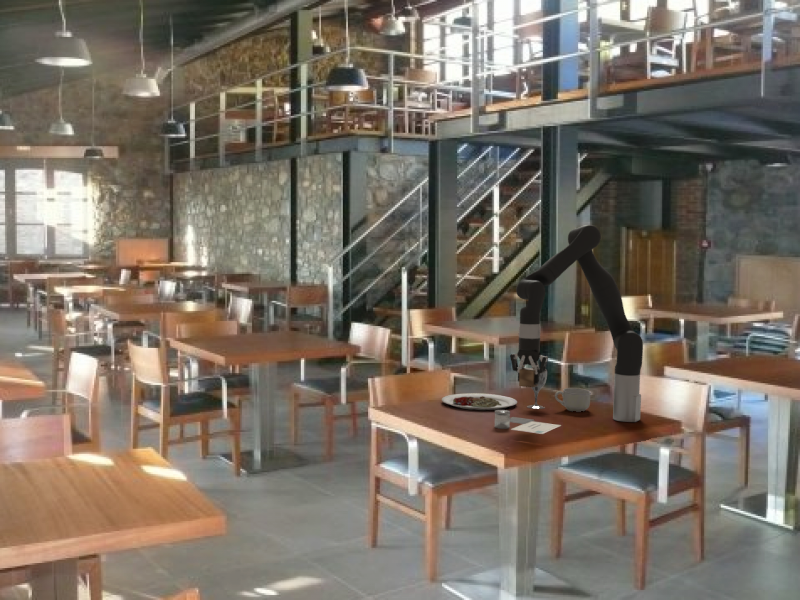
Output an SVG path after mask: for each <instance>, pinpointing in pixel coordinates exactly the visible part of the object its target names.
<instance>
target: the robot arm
mask: <svg viewBox="0 0 800 600" xmlns="http://www.w3.org/2000/svg"><path fill="white" fill-rule="evenodd" d="M601 236H602V235H601V231H600V230H599V228H598V227H597V226H595V225H592V224H584V225H582V226H579V227H576V228H573V229H571V230H570V231H569V233H568V236H567V243H568V245H567V246H566V247H564V248H563V249H562V250H560V251H559V252H557V253H556V254H554V255H553V256H551V257H550V258H549V259H548V260H546V261H545V262H544V263H543V264H542V265H541V266H540V267H539V268H538V269H537V270H535V271H533V272H532V273H530V274H528V275H527V276H525V277H524V278H522V279H521V280H520V281H519V282H518V283H517V286H516V289H515V290H516V295H517V297H518V298H519V299H522V300H525V301H526V300H527V303H526V304H527V305H526V306H523V307H521V308H520V311H519V327H518V351H517V352H516V353H511V354H510V356H509V358H510V363H511V368H512V370H513V371H515V372H516V373H517V382H518V383H519V372H520V369H522V368H526V366H527V365H529V366H531V368H533V370H534V373H535V374H534V385H537V384H538V383H539V375H540V373H543V372H545V369H546V368H547V366H548V365H547V364H548V360H549V357H548V355H546V356H545V355H542V354H541V323H540V322H541V310H542V308H543V305H544V304H543V303H544V301H545V295H546V288H545V287H548V286H550V285H551V284H553V283H554V282H555V281H556V280H557V279H558V278H560V276H561V275H562V274H563V273H565V271H566V270H568V269H569V267H570V266H572V265H574V263H576V261H577V263H578V264H579V266H580V268H581V270H582V273H583V275H584V277H585V280H586V282H587V283H588V285H589V288H590V291H591V294H592V295H593V298H594V300H595V302H596V304H597V306H598V308H599V310H600V313H601V314H602V316H603V318H604V320H605V321H606V324H607V326H608V329H609V332H610V335H611V339H612V342H613V345H614V348H615V350H617V352H616V354H617V355H616V364H615V366H614V378H613V379H614V381H613V405H612V406H613V407H612V408H613V409H612V410H613V411H612V412H613V413H612V419H613V420H614V421H618V422H624V423H625V422H628V423H637V422H638V421H640V420H641V413H642V412H641V408H642V395H641V393H640V388H641V387H640V385H641V370H642V366H643V358H644V357H643V356H644V355H643V354H644V352H643V351H644V343H643V339H642V337H641V335H640V334H638V333H637V332H635V331H634V330H633V328H632V326H631V325H630V322H629V320H628V317H627V316H626V314H625V309H624V303H623V299H622V294H621V292H620V289H619V287H618V284H617V283H616V280H615V279H614V277H613V275H612V274H611V273H609V271H608V270H606V268H605V267H603V265H602V264H601V263H600V262H599V261H598V259H597V257H596V256H595V253H594V251H593V249H595V248H597V247H598V246H599V244H600V242H601V239H602V237H601ZM518 359H519V360H520V362H519V364H518ZM539 360H540V362H541V363H540V366H539V363H538V361H539ZM539 368H540V370H539ZM546 370H547V369H546Z"/></svg>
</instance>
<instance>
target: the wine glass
mask: <svg viewBox="0 0 800 600" xmlns="http://www.w3.org/2000/svg"><path fill="white" fill-rule="evenodd" d="M539 370H540V367H539ZM547 377H548V370H547V369H545V372H543V373H540V375H539V383H538V386H535V387H533V388H532V387H530V388H531V389H532V391H533V393H534V404H532V405H527V406H526V408H528V409H532V410H541V409H543V410H544V409H545V408H546V407H545V406H544V407H543V405H539V404H538V395H539V392H540V391H541V389H543V387H544V386H545V385H546V382H547Z"/></svg>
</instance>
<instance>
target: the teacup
mask: <svg viewBox="0 0 800 600" xmlns="http://www.w3.org/2000/svg"><path fill="white" fill-rule="evenodd" d="M591 393H592V391H590V390H588V389H585V388H580V387H578V388H577V387H567V388H563V389H562V390H558V391H556V392H555V393H554V398H555V400H556V402H558V403H560V404H561V405H562V406H563V407H564V408H566V410H567V411H569V412H573V411H576V413H582V412H581V411H583V412H585V411H586V410H587V409H589V408H590V404H591ZM558 395H561V396H562V400H561V399H559V398H558Z"/></svg>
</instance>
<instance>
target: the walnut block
mask: <svg viewBox="0 0 800 600" xmlns="http://www.w3.org/2000/svg"><path fill="white" fill-rule="evenodd" d="M534 374H535V373H534V370H533V368H532V367H524V368H522V369H520V372H519V382H518V387H525V388H531V387H532V388H533V387H535V386H538V384H537V385H534ZM532 388H531V389H532Z"/></svg>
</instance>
